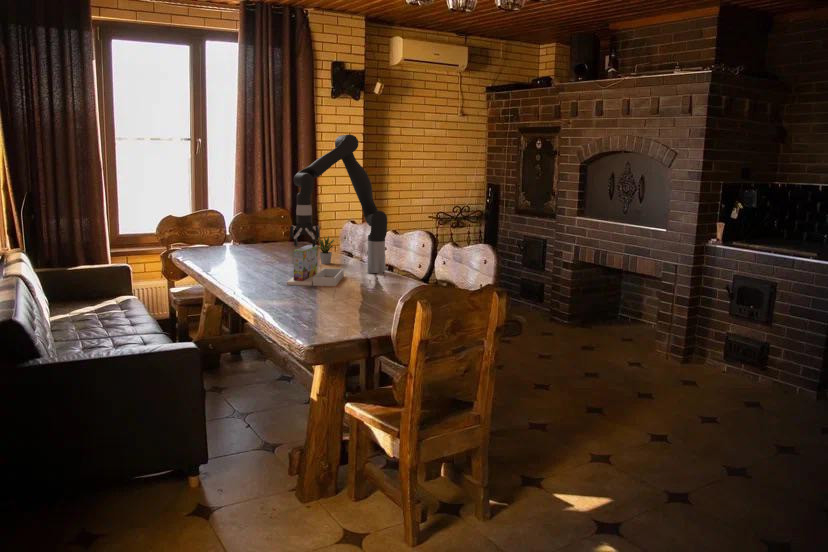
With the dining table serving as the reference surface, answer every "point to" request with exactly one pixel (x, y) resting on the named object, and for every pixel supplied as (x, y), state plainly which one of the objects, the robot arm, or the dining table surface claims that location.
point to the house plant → (325, 251)
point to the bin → (324, 281)
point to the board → (305, 282)
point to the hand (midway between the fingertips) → (305, 246)
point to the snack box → (305, 262)
